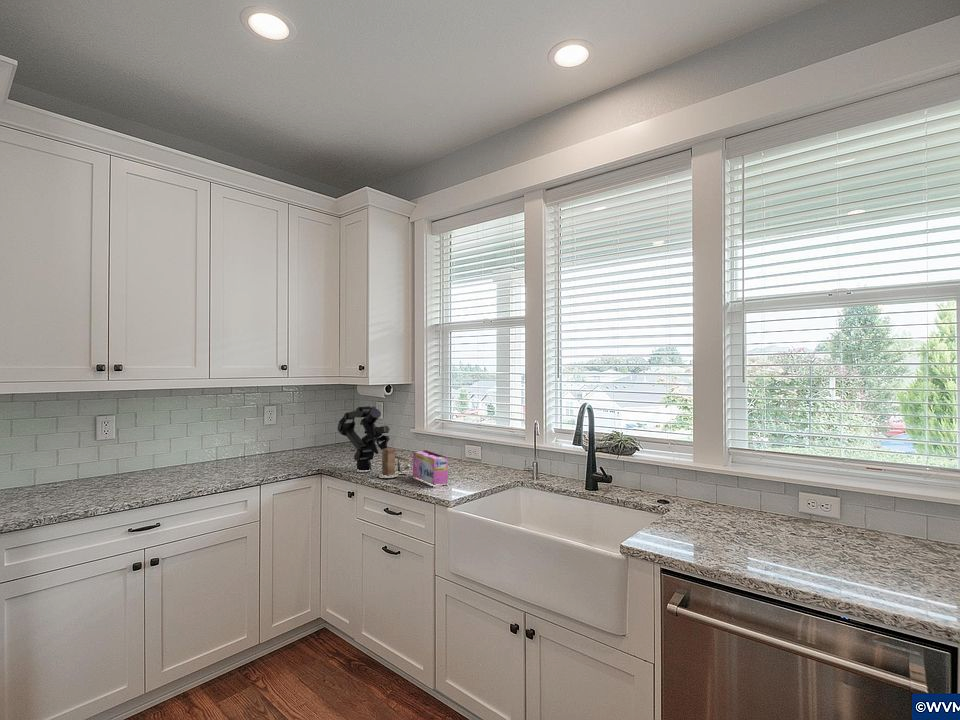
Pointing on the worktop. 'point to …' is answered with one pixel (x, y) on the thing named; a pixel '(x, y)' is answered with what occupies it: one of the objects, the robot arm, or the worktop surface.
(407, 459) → the bronze balance
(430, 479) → the gum box
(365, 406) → the robot arm
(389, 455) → the walnut block
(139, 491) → the worktop surface
